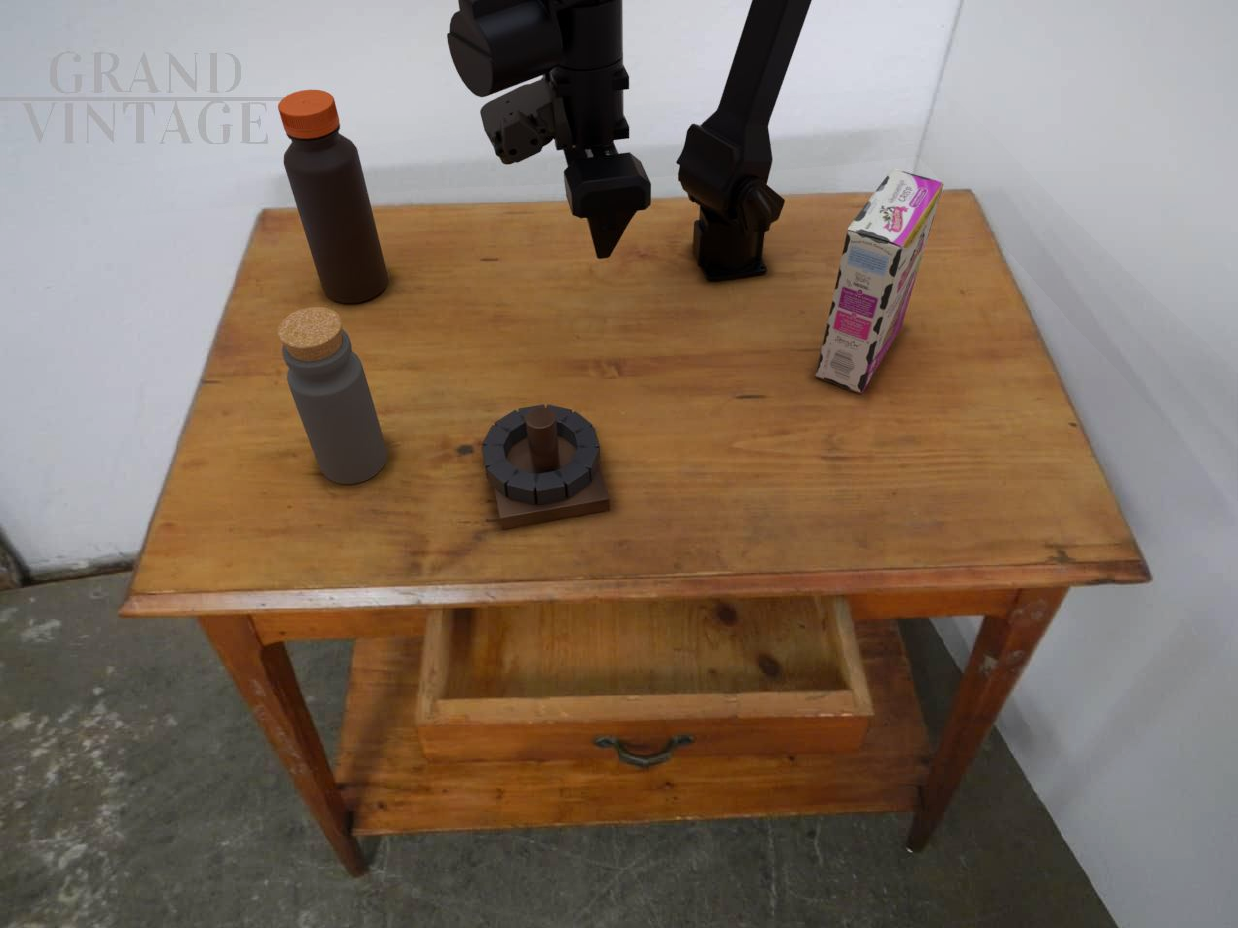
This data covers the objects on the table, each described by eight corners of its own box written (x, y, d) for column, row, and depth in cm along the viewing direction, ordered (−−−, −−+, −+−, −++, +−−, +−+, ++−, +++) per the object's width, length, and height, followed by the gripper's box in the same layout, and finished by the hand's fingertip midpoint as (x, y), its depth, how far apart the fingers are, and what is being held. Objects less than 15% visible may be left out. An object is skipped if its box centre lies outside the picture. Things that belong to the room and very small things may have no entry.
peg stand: (588, 433, 83) (585, 370, 78) (609, 510, 77) (608, 448, 72) (487, 450, 82) (477, 388, 76) (501, 529, 76) (491, 468, 70)
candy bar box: (864, 397, 86) (903, 247, 73) (813, 378, 87) (843, 229, 75) (905, 328, 92) (947, 179, 80) (856, 312, 94) (890, 164, 82)
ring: (586, 411, 83) (585, 396, 81) (609, 492, 77) (609, 478, 75) (478, 429, 81) (475, 415, 80) (493, 513, 75) (490, 499, 74)
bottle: (373, 490, 79) (330, 356, 68) (308, 480, 80) (255, 346, 69) (397, 440, 83) (361, 306, 72) (335, 431, 84) (289, 297, 72)
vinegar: (392, 263, 100) (349, 82, 85) (385, 303, 96) (339, 119, 81) (328, 266, 100) (274, 85, 85) (318, 307, 95) (259, 123, 80)
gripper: (467, 14, 77) (489, 183, 88) (497, 126, 65) (518, 305, 76) (600, 0, 78) (604, 168, 90) (654, 107, 66) (651, 285, 78)
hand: (592, 227), depth 83 cm, fingers open, 9 cm apart
